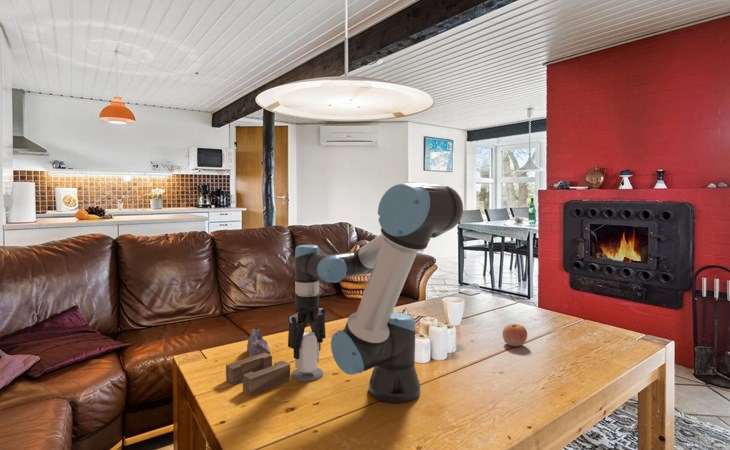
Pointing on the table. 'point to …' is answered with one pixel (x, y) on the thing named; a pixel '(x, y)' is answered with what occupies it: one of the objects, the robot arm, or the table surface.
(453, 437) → the table surface
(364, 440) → the table surface
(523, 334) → the apple
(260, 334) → the stone
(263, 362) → the notched wooden bars
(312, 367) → the beverage can
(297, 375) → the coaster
